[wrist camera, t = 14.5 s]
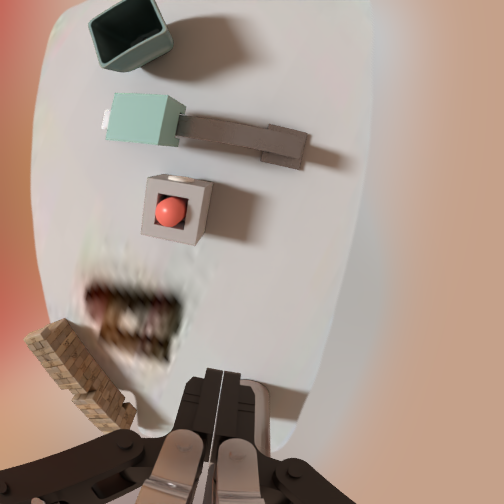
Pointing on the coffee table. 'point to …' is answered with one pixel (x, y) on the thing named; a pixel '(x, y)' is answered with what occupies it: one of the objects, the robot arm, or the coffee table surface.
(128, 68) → the flower pot
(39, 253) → the coffee table surface
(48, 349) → the block tower
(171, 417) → the coffee table surface
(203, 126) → the handrail
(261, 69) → the coffee table surface
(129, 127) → the carriage
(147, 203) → the cabinet
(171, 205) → the button
